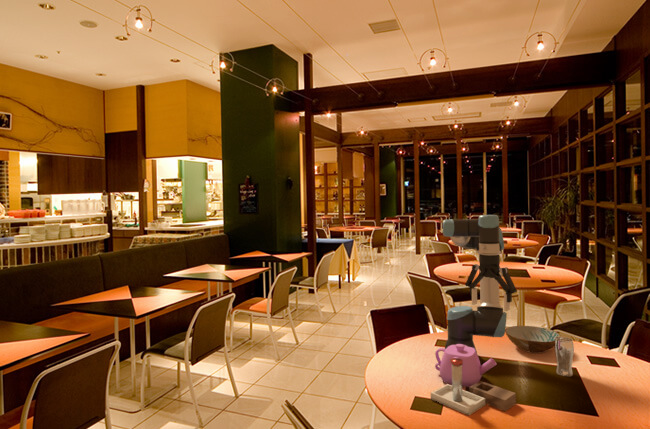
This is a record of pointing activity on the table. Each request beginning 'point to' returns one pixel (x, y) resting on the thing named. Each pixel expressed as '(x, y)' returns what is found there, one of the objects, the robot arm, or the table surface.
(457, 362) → the red capped grey tube
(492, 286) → the robot arm
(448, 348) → the teapot
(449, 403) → the tray
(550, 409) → the table surface
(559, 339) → the beer glass
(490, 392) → the block
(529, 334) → the bowl
